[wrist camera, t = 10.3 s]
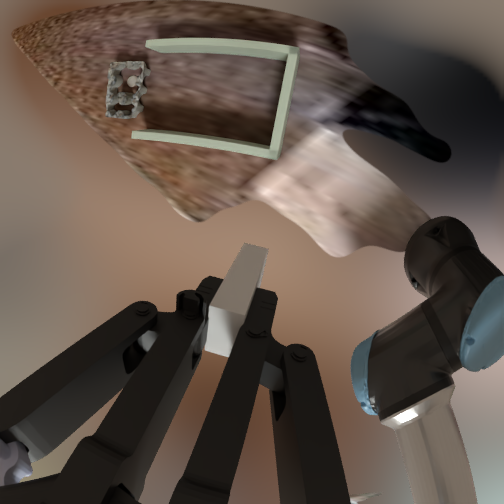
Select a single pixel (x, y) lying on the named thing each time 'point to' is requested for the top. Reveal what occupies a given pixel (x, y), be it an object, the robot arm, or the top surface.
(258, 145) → the u-shaped frame
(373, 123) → the top surface
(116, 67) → the egg carton
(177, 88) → the top surface
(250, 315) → the robot arm
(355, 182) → the top surface
